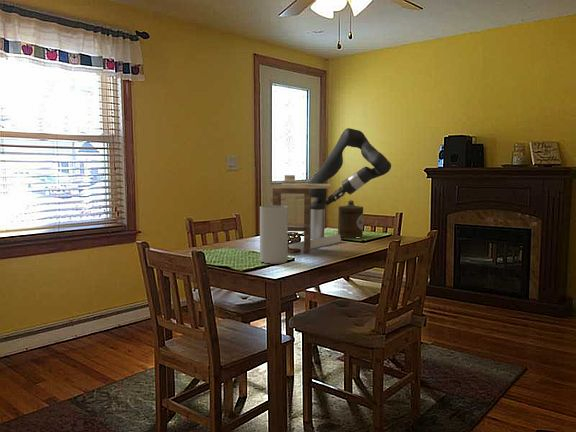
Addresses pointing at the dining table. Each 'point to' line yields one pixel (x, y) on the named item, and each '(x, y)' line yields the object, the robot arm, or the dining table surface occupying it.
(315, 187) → the birch slat
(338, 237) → the decorative molding
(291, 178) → the offcut stack
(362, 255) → the dining table surface
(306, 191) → the walnut rack
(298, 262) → the dining table surface
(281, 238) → the cylinder vase
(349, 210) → the wooden container
